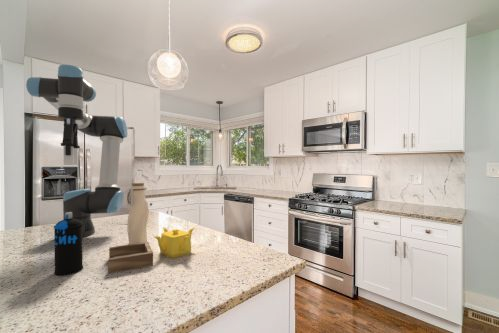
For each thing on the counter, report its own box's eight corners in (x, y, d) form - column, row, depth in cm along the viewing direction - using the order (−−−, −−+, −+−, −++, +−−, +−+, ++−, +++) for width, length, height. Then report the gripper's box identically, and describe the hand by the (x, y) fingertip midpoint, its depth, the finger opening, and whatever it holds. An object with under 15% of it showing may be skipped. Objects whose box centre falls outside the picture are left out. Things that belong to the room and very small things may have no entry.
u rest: (109, 259, 94) (109, 247, 94) (148, 252, 101) (148, 241, 101) (108, 273, 82) (108, 259, 82) (153, 265, 88) (153, 252, 88)
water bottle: (138, 247, 106) (138, 184, 106) (120, 246, 108) (120, 183, 108) (152, 240, 116) (152, 182, 116) (136, 239, 118) (136, 182, 118)
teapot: (163, 246, 108) (163, 225, 108) (195, 246, 109) (195, 225, 109) (151, 259, 93) (151, 234, 93) (189, 259, 94) (189, 234, 94)
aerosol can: (64, 265, 87) (64, 210, 87) (88, 265, 88) (88, 210, 88) (47, 276, 79) (47, 215, 79) (74, 275, 80) (73, 215, 80)
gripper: (63, 112, 100) (64, 164, 101) (51, 99, 79) (51, 165, 79) (85, 114, 104) (85, 164, 104) (79, 102, 82) (79, 165, 83)
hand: (71, 164), depth 92 cm, fingers open, 13 cm apart
